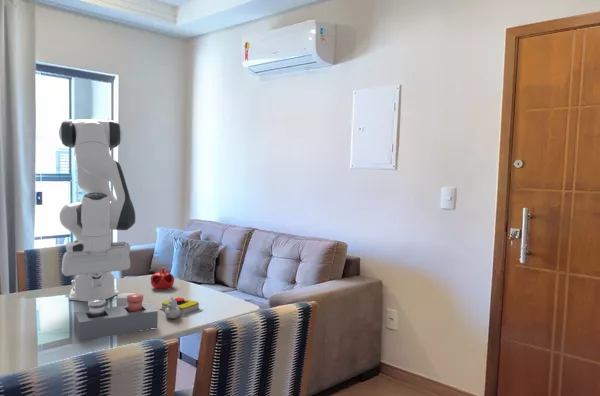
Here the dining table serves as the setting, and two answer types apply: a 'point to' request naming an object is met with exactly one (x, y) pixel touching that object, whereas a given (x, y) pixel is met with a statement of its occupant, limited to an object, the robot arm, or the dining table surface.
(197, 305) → the emergency button
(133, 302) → the red plunger
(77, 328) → the block
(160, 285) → the pomegranate
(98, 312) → the grey plunger
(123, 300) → the light grey cube
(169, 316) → the grey figurine
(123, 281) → the dining table surface
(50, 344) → the dining table surface
